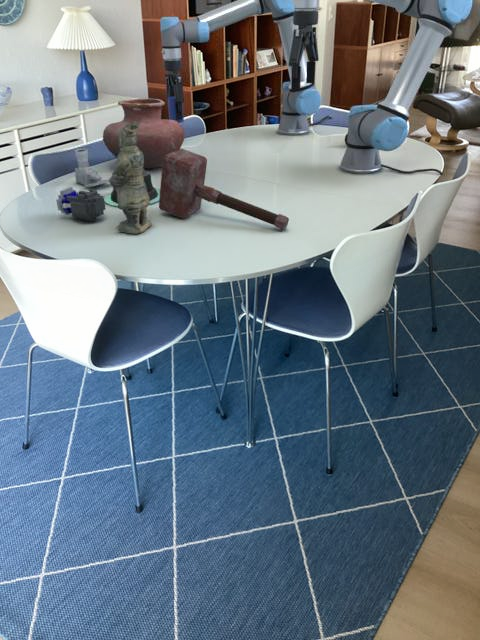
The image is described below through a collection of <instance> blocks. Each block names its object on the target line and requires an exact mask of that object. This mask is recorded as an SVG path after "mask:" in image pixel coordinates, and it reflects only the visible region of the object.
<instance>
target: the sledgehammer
mask: <svg viewBox="0 0 480 640" xmlns="http://www.w3.org/2000/svg"><path fill="white" fill-rule="evenodd" d="M207 164H208V159H207V158H206V157H205V156H203V155H200V154H197V153H195V152H193V151H189V150H186V149H184V148H180V149H179V150H177V151H174V152H172V153H170V154H167V155H165V156H164V158H163V165H161V166H162V167H161V176H160V187H159V190H160V198H159V200H158V208H159V210H160V211H162V212H165V213H168V214H170V215H173V216H174V217H177V218H180V219H182V220H185V219H187V218H188V217H190V216H192V215H193V214H195V213H197V212H198V211H199V210H200V209H201V207H202V201H203V200H204V201H207V202H209V203H213V204H215V205H220V206H223V207H225V208H228V209H231V210H233V211H236V212H239V213H241V214H243V215H245V216H248V217H252V218H255V219H257V220H260V221H262V222H264V223H267V224H270V225H273V226H274V228H276V229H280V230H282V231H285V230H286V228H287V227H288V224H289V221H290V218H289V217H288V216H286V215H283V214H281V213H279V214H277V213H275V212H273V211H269V210H267V209H265V208H262V207H259V206H256V205H254V204H251V203H248V202H246V201H244V200H242V199H238V198H236V197H233V196H231V195H228V194H225V193H223V192H222V191H220V190H218V189H215V188H214V187H211V186H208V185H205V181H206V175H207Z"/></svg>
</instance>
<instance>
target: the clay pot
mask: <svg viewBox="0 0 480 640" xmlns="http://www.w3.org/2000/svg"><path fill="white" fill-rule="evenodd" d="M165 104H166V102H165V101H163V100H162V99H159V98H132V99H130V98H129V99H122V100H118V102H117V105H118V106H121V108H122V110H123V115H124V117H123V119H122V120H121V121H117V122H112V123H109V124H107V125H106V126H105V128H104V129H103V131H102V141H103V143H104V145H105V147H106V149H107V150H108V151H109V152H110V153H111V154H112V156H114V157H115V158H116V159H117V156H118V154H119V151H120V147H119V140H118V138H119V133H120V130H121V129H123V128H124V127H125V126H126V125H127V124H128V123H131V122H133V121H137V122H138V123H139V127H138V130H137V131H136V138H137V143H136V146H137V147H138V149H139V150H141V151H142V153H143V156H144V166H143V169H155V168H158V167H161V166H163V158H164V156H165V155H167V154H170V153H172V152H174V151H177V150H179V149H182V146H183V143H184V141H185V137H186V134H185V129H184V127H183V126H182V124H181V123H178V122H177V121H175V120H169V119H168V118H167V119H165V118H163V119H162V110H163V107H164V106H165Z"/></svg>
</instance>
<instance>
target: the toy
mask: <svg viewBox="0 0 480 640" xmlns="http://www.w3.org/2000/svg"><path fill="white" fill-rule="evenodd" d="M59 193H60V194H58V195H57V197H58V199H56V207H57V211H60V212H61V214H63V215H64V216H69V215H71V216H72V217H75V218H77V219H78V220H80V221H81V220H82V221H87V222H94V221H96V220H97V219H98V218H99V217H101V216H103V215H104V214H105V212H104V211H106V208H107V207H106V202H105V201H104V198H105V197H104V195H102V194H101V193H99V192H98V189H95V188H94V189H93V188H90V189H88V191H84V190H79V191H76V189H74V188H73V187H72V186H68V187H66V188H64V189H61V190H59Z"/></svg>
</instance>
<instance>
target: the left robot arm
mask: <svg viewBox="0 0 480 640" xmlns="http://www.w3.org/2000/svg"><path fill="white" fill-rule="evenodd" d="M294 11H296V9H294V1H293V0H235V1H232V2H229V3H227V4H224V5H223V6H220V7H217V8H215V9H212V10H210V11H208V12H205V13H203V14H200V15H197V16H195V17H193V18H190V19H186V20H183V21H180V20H179V19H180V18H179V16H162V17H161V18H160V38H161V49H162V51H161V54H162V59H163V61H162V62H163V70H164V71H167V73H165V74H164V78H165V91H166V92H165V93H166V99H167V100H168V97H172V96H175V99H176V102H175V107H176V120H181V119H183V116H184V112H183V113H182V102H183V103H184V102H185V97H184V85H183V76H181V75H180V72H179V71H181V70H182V69H183V61H182V60H181V59H182V47H181V44H187V43H189V44H190V43H192V44H193V43H194V44H195V43H207V42H208V41H209V40H210V33H212V32H216V31H218V30H220V29H222V28H225V27H228V26H231V25H233V24H235V23H237V22H241V21H243V20H245V19H247V18H250V17H253V16H255V15H257V16H262V15H265V14H271V16H272V20H273V23H275V24H277V27H278V30H279V35H280V40H281V44H282V49H283V53H284V57H285V62H286V67H287V71H288V75H289V79H290V81H284V82H283V83H282V87H281V92H282V93H281V118H280V121H279V124H278V127H277V133H278V134H279V135H285V136H302V135H303V136H304V135H308V134H309V133H310V127H312V126H316V125H319V124H322V123H323V121H324V120H326V119H330V120H331V119H332V116H331V117H329V116H330V115H326V116H324V117H323V118H321V119H320V120H319V121H316V122H313V123H309V121H308V118H307V117H309V116H312V115H315V114H316V113H317V112H318V111H319V109H320V107H321V105H322V95H321V94H320V92H319V91H318V89H317V86H316V82H315V83H314V84H312V83H306V73H307V61H308V59H307V54H306V49H304V51H303V55H302V59H301V62H300V66H301V81H300V89H291V77H292V66H289V59H290V53H291V47H292V42H293V33H294V29H298V25H294V24H293V12H294Z"/></svg>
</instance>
